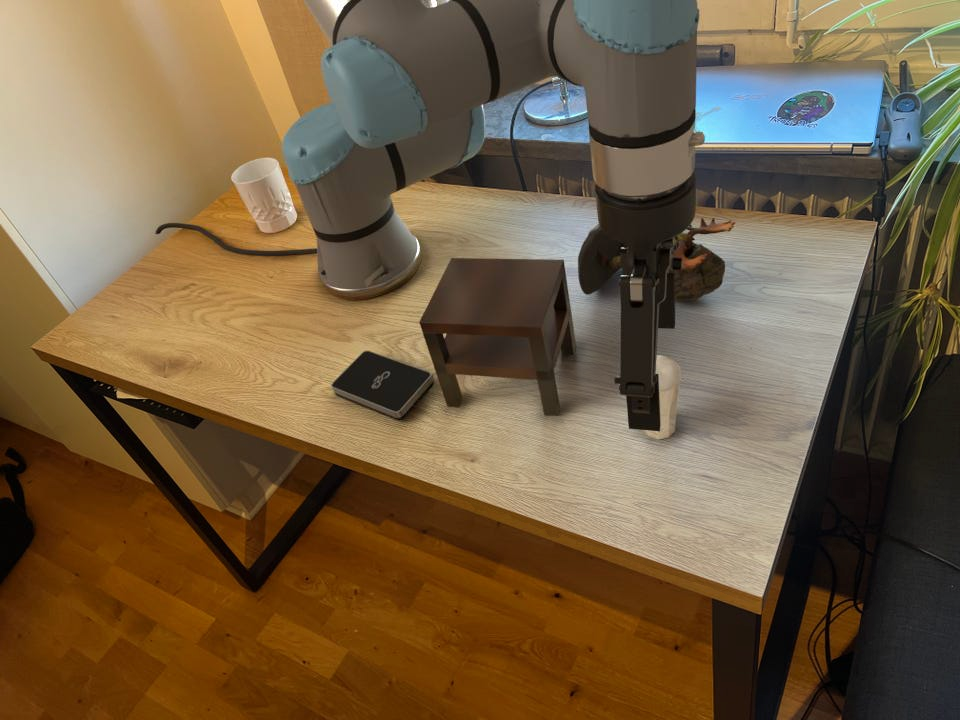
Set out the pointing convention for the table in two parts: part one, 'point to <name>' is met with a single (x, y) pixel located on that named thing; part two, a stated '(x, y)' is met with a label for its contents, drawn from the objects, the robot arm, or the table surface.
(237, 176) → the white cup
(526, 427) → the table surface
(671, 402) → the milkshake
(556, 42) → the robot arm
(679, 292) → the figurine
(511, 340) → the small wooden side table
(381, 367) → the external hard drive
